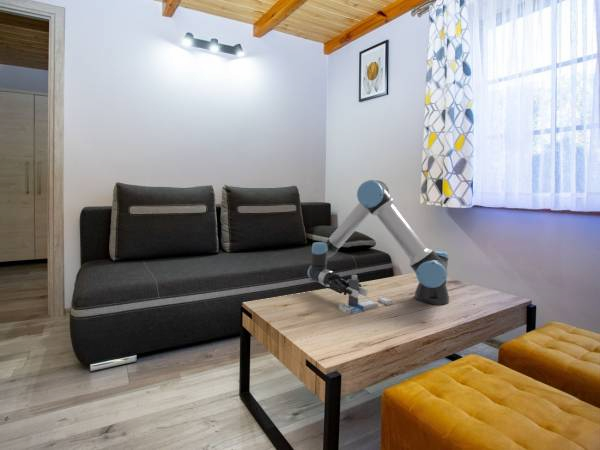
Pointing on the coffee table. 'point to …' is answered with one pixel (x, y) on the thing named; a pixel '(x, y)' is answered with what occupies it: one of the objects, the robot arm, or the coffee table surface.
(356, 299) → the cable plug
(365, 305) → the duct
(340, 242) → the robot arm
